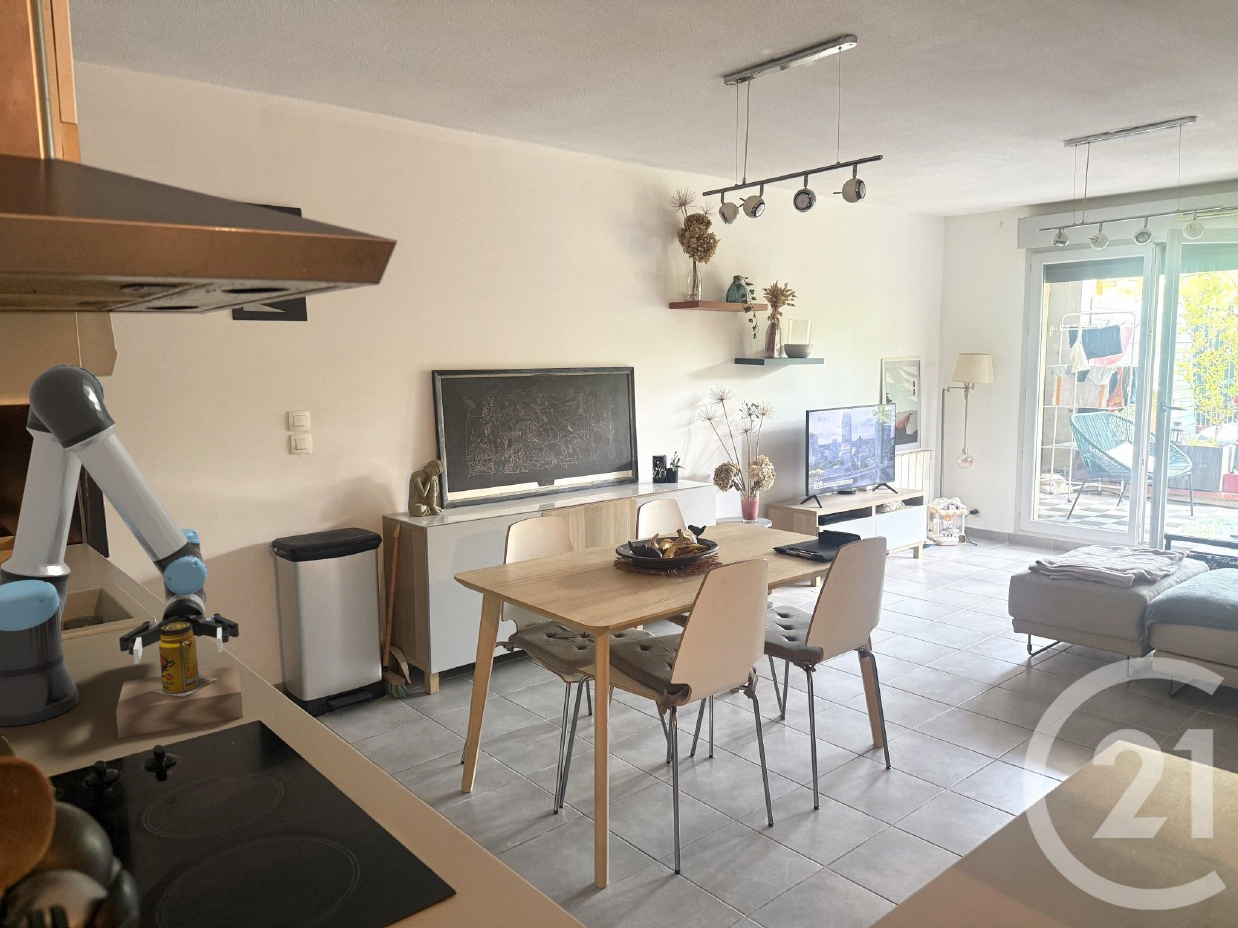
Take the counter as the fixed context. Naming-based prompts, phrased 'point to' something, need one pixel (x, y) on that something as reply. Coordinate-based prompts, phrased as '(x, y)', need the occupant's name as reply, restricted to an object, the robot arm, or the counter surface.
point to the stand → (178, 703)
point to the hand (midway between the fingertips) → (178, 650)
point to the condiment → (179, 661)
